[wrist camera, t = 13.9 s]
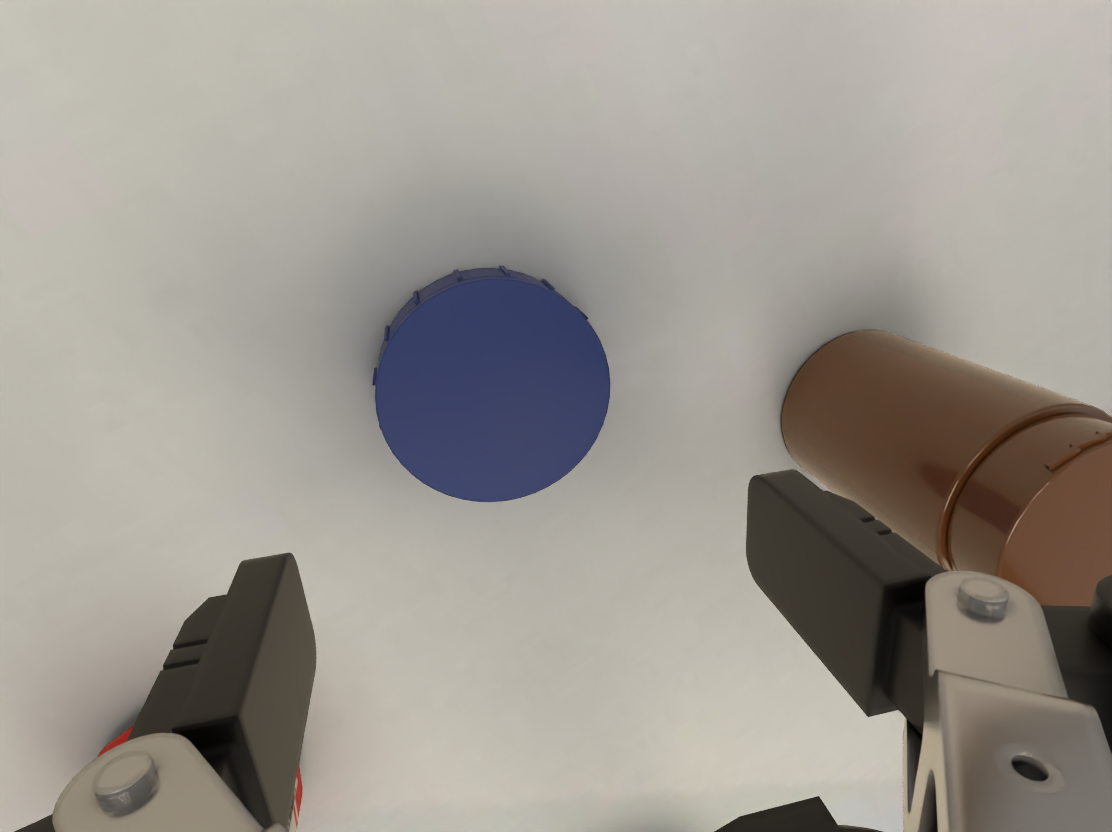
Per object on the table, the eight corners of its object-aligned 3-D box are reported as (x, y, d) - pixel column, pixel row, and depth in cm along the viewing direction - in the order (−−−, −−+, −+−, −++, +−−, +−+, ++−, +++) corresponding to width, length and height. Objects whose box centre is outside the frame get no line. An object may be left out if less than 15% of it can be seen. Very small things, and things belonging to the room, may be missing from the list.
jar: (943, 418, 23) (1217, 552, 15) (818, 505, 23) (1025, 680, 15) (892, 296, 21) (1181, 379, 13) (754, 393, 21) (958, 530, 13)
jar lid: (359, 277, 17) (354, 290, 16) (590, 256, 18) (609, 266, 17) (393, 489, 20) (392, 519, 18) (597, 459, 21) (614, 486, 19)
